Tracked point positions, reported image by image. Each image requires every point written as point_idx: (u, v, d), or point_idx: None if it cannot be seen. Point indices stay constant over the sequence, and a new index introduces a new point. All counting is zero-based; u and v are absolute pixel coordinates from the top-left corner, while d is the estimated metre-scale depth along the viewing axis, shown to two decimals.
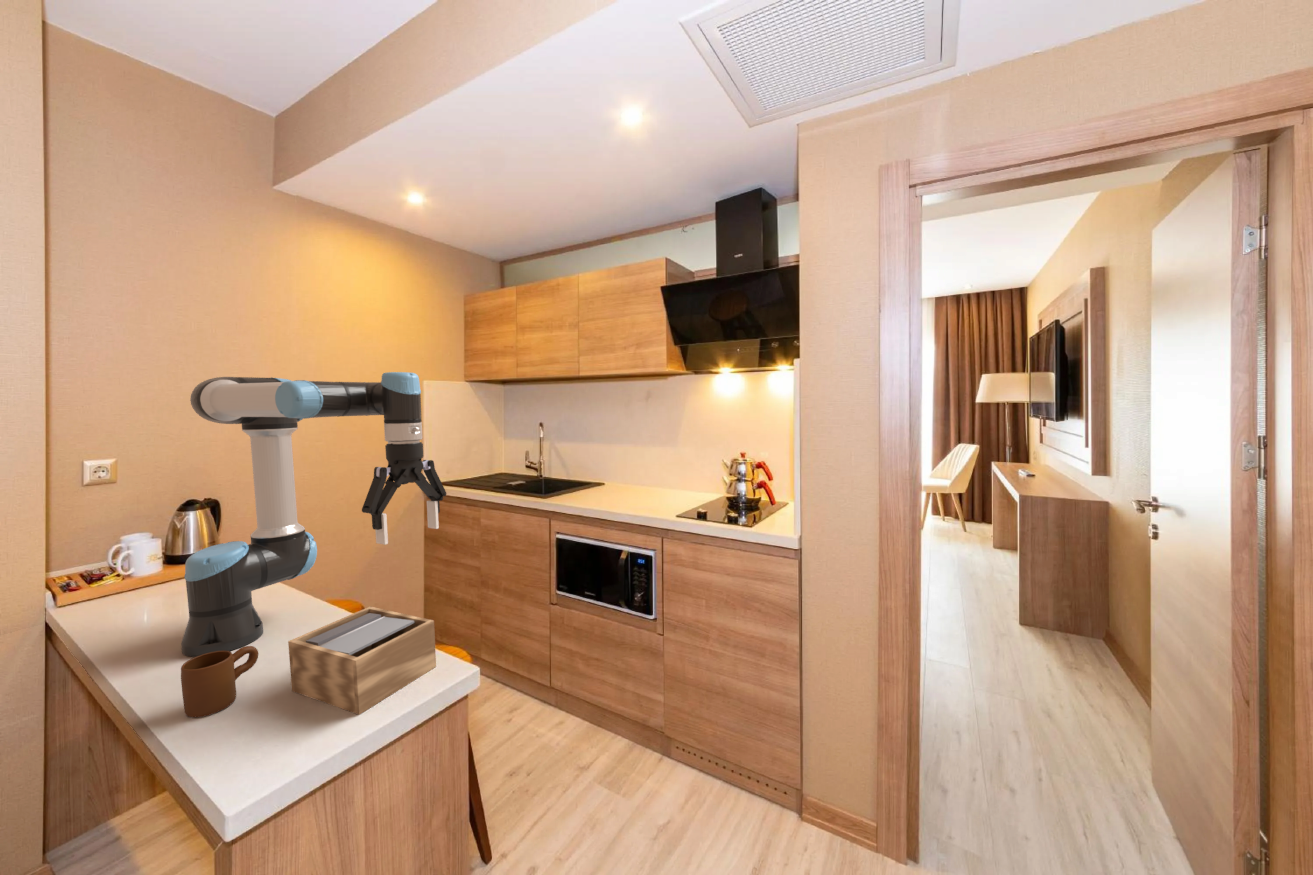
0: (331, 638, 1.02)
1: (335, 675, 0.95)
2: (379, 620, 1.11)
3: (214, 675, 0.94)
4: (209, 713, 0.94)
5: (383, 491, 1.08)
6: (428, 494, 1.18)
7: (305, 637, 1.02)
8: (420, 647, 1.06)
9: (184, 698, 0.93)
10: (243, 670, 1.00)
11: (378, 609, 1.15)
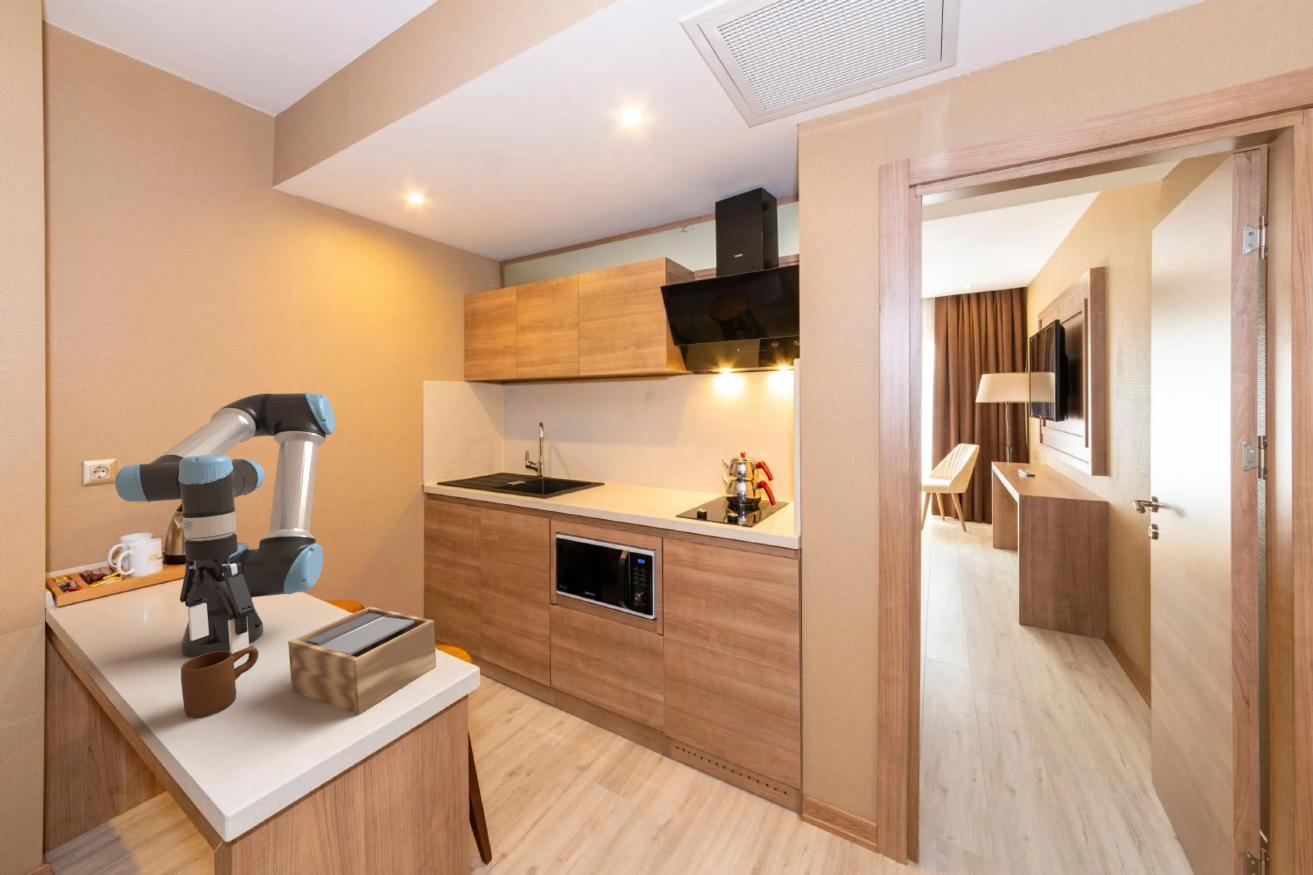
0: (331, 638, 1.02)
1: (335, 675, 0.95)
2: (379, 620, 1.11)
3: (214, 675, 0.94)
4: (209, 713, 0.94)
5: None
6: None
7: (305, 637, 1.02)
8: (420, 647, 1.06)
9: (184, 698, 0.93)
10: (243, 670, 1.00)
11: (378, 609, 1.15)
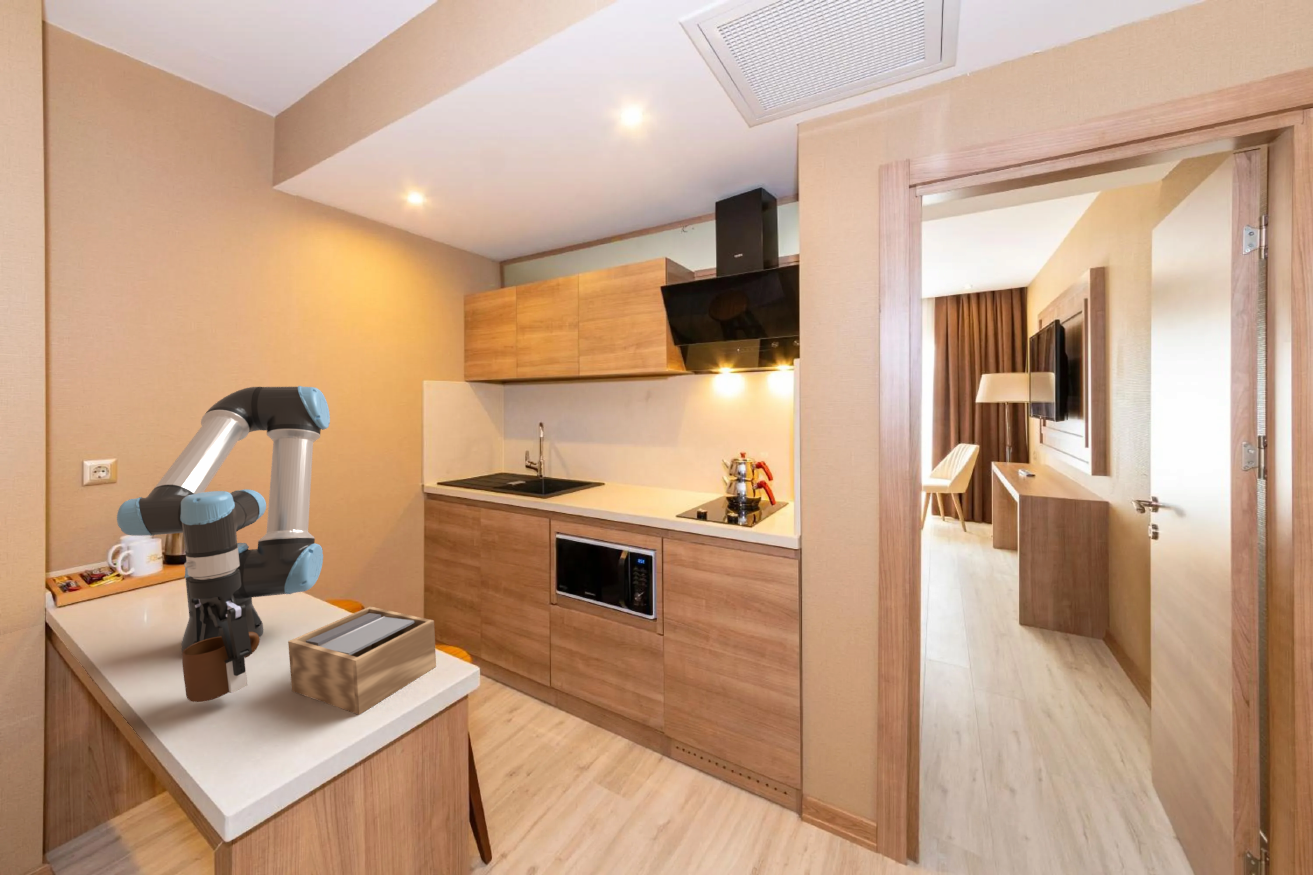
0: (331, 638, 1.02)
1: (335, 675, 0.95)
2: (379, 620, 1.11)
3: (215, 660, 0.94)
4: (211, 698, 0.94)
5: None
6: None
7: (305, 637, 1.02)
8: (420, 647, 1.06)
9: (186, 683, 0.93)
10: None
11: (378, 609, 1.15)
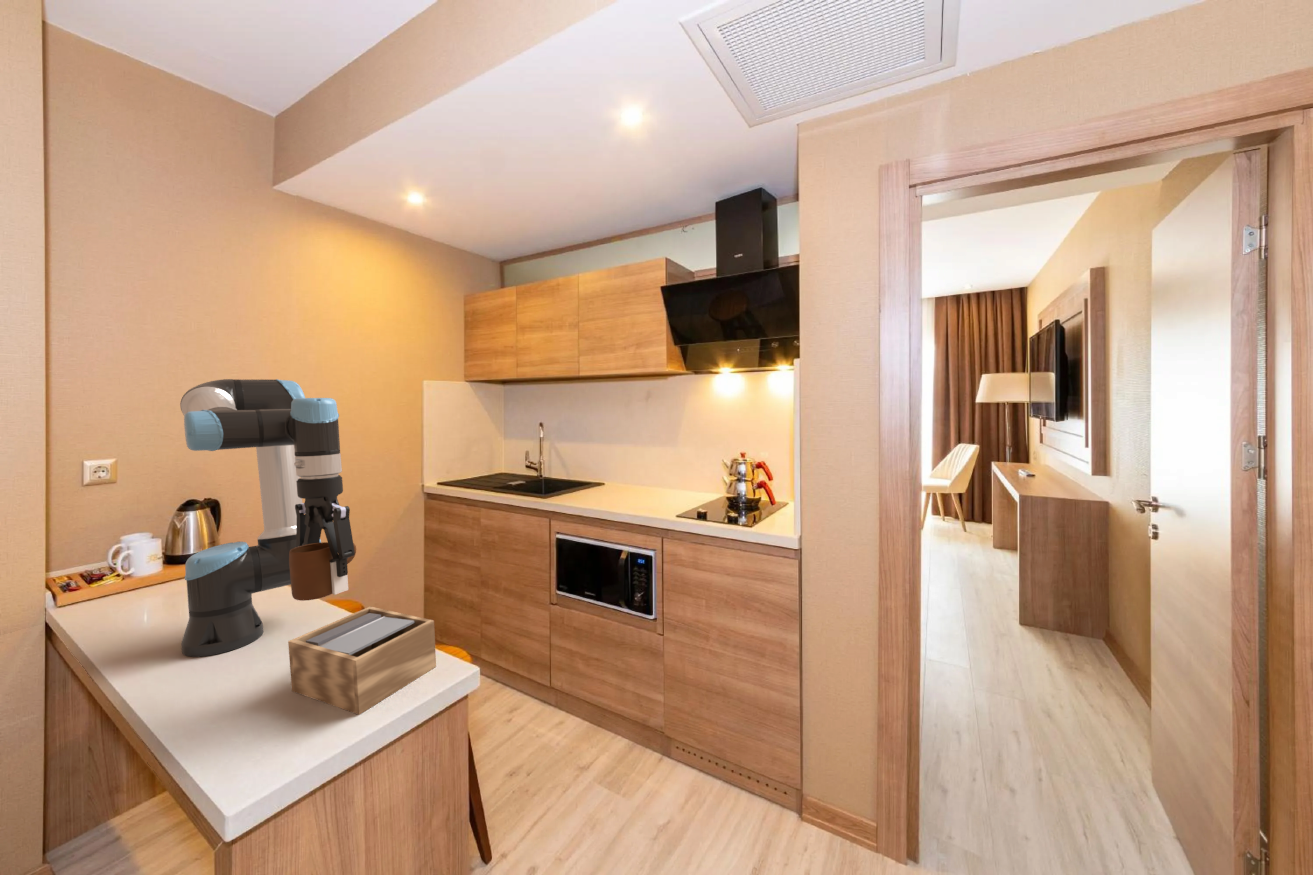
0: (331, 638, 1.02)
1: (335, 675, 0.95)
2: (379, 620, 1.11)
3: (320, 559, 0.96)
4: (316, 597, 0.95)
5: None
6: None
7: (305, 637, 1.02)
8: (420, 647, 1.06)
9: (293, 581, 0.95)
10: None
11: (378, 609, 1.15)
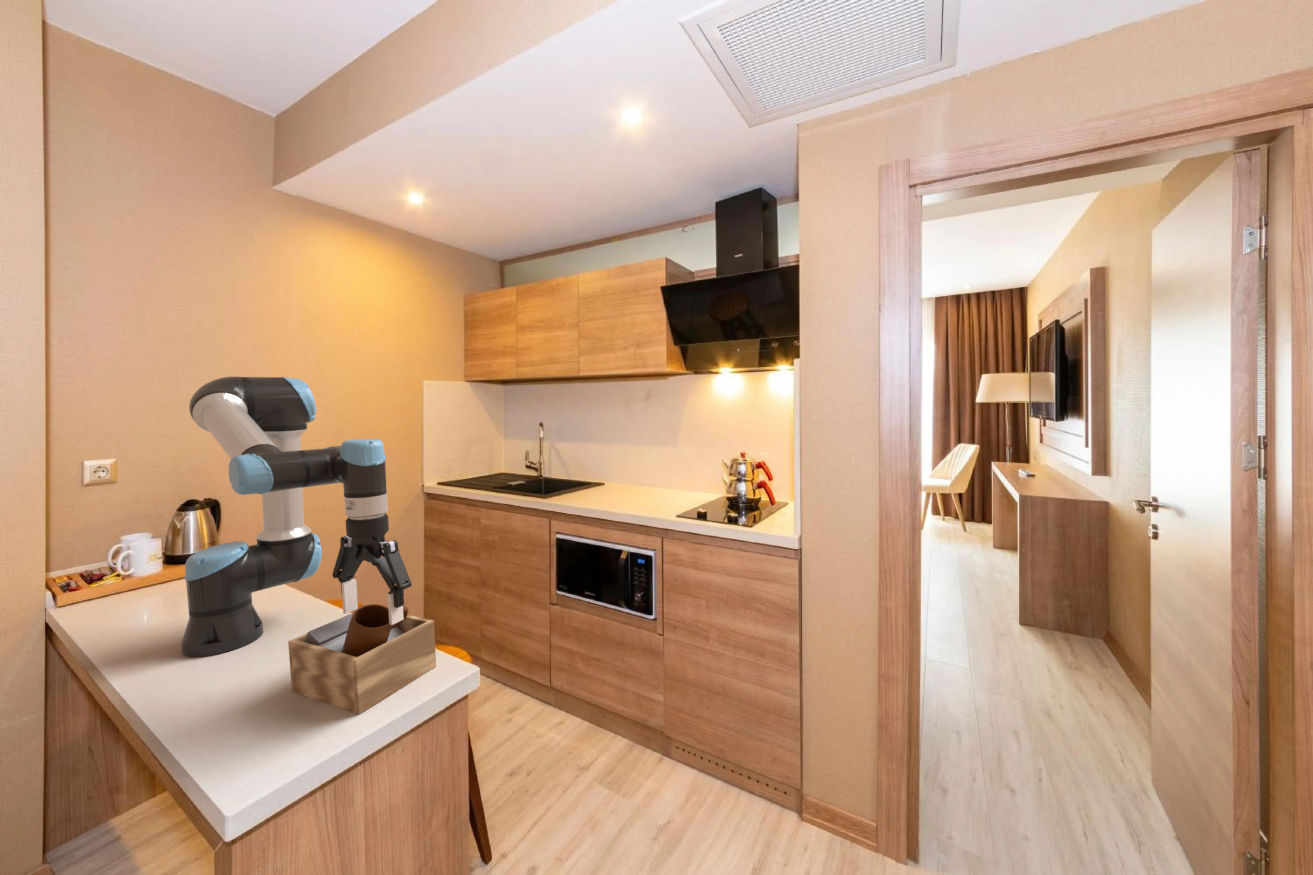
0: (332, 638, 1.02)
1: (335, 675, 0.95)
2: None
3: (380, 635, 0.98)
4: None
5: None
6: None
7: (305, 637, 1.02)
8: (420, 647, 1.06)
9: (348, 646, 0.98)
10: (394, 626, 1.05)
11: None
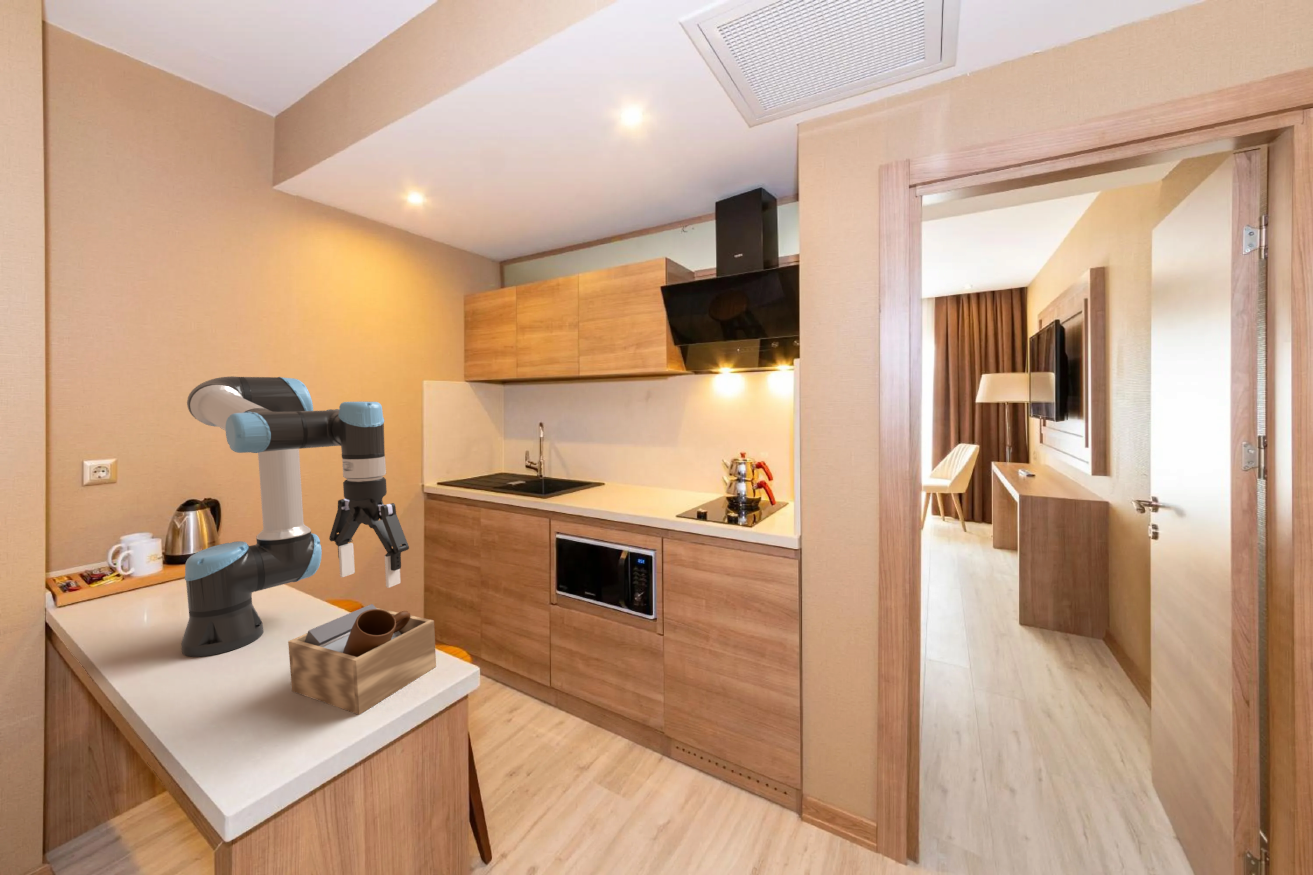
0: (332, 638, 1.02)
1: (335, 675, 0.95)
2: None
3: (381, 642, 0.98)
4: None
5: None
6: None
7: (305, 637, 1.02)
8: (420, 647, 1.06)
9: (349, 650, 0.98)
10: (395, 631, 1.05)
11: None
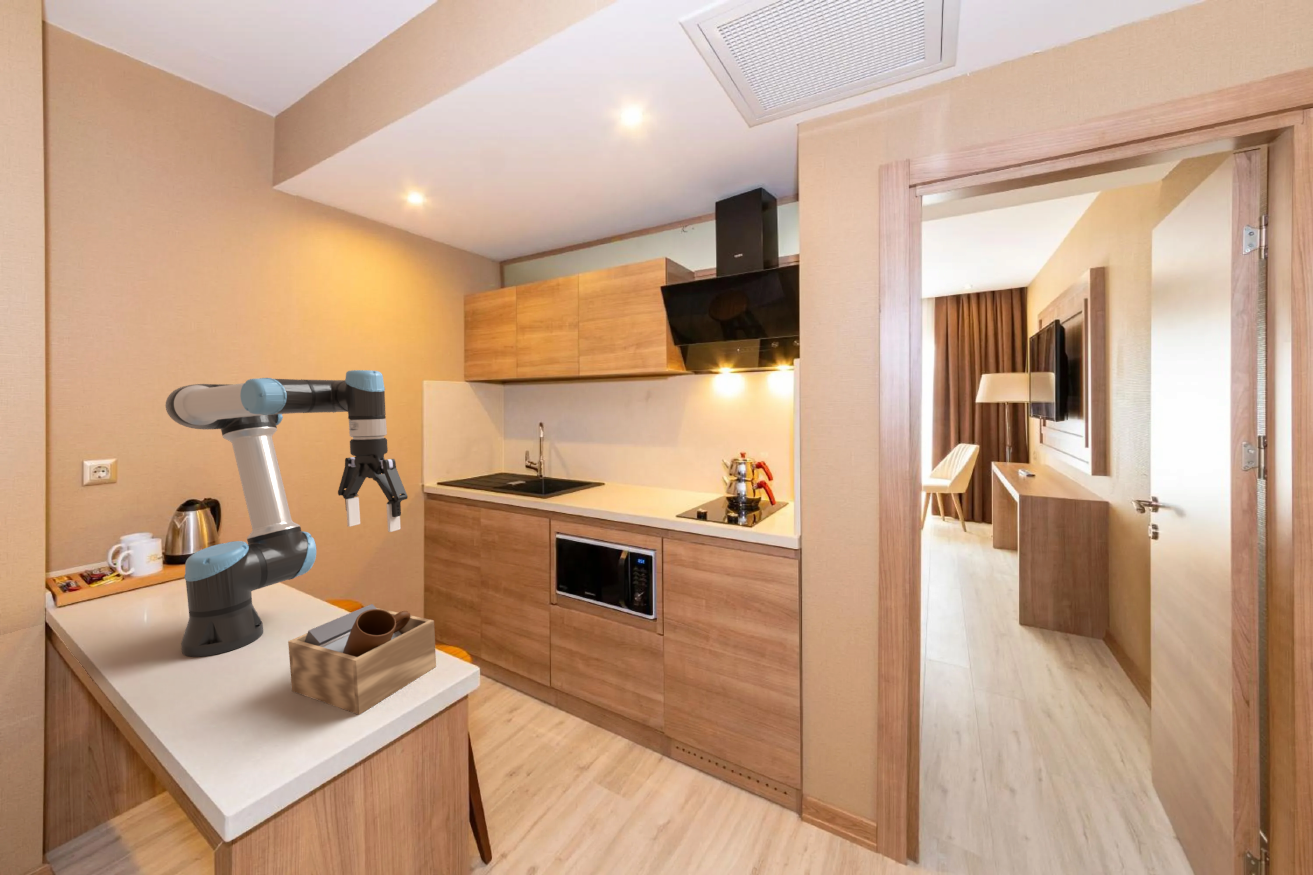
0: (332, 638, 1.02)
1: (335, 675, 0.95)
2: None
3: (381, 642, 0.98)
4: None
5: None
6: None
7: (305, 637, 1.02)
8: (420, 647, 1.06)
9: (349, 650, 0.98)
10: (395, 631, 1.05)
11: None
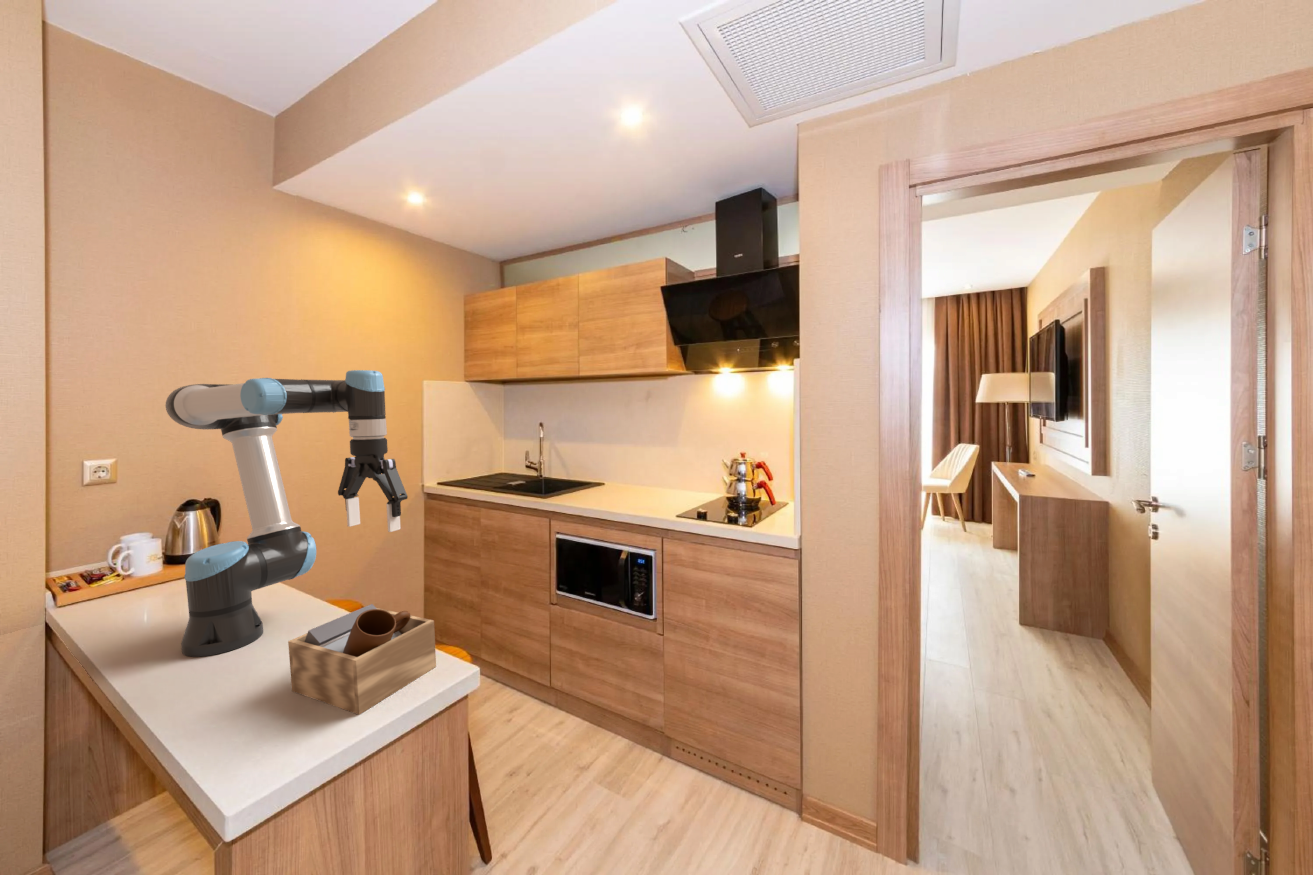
0: (332, 638, 1.02)
1: (335, 675, 0.95)
2: None
3: (381, 642, 0.98)
4: None
5: None
6: None
7: (305, 637, 1.02)
8: (420, 647, 1.06)
9: (349, 650, 0.98)
10: (395, 631, 1.05)
11: None
